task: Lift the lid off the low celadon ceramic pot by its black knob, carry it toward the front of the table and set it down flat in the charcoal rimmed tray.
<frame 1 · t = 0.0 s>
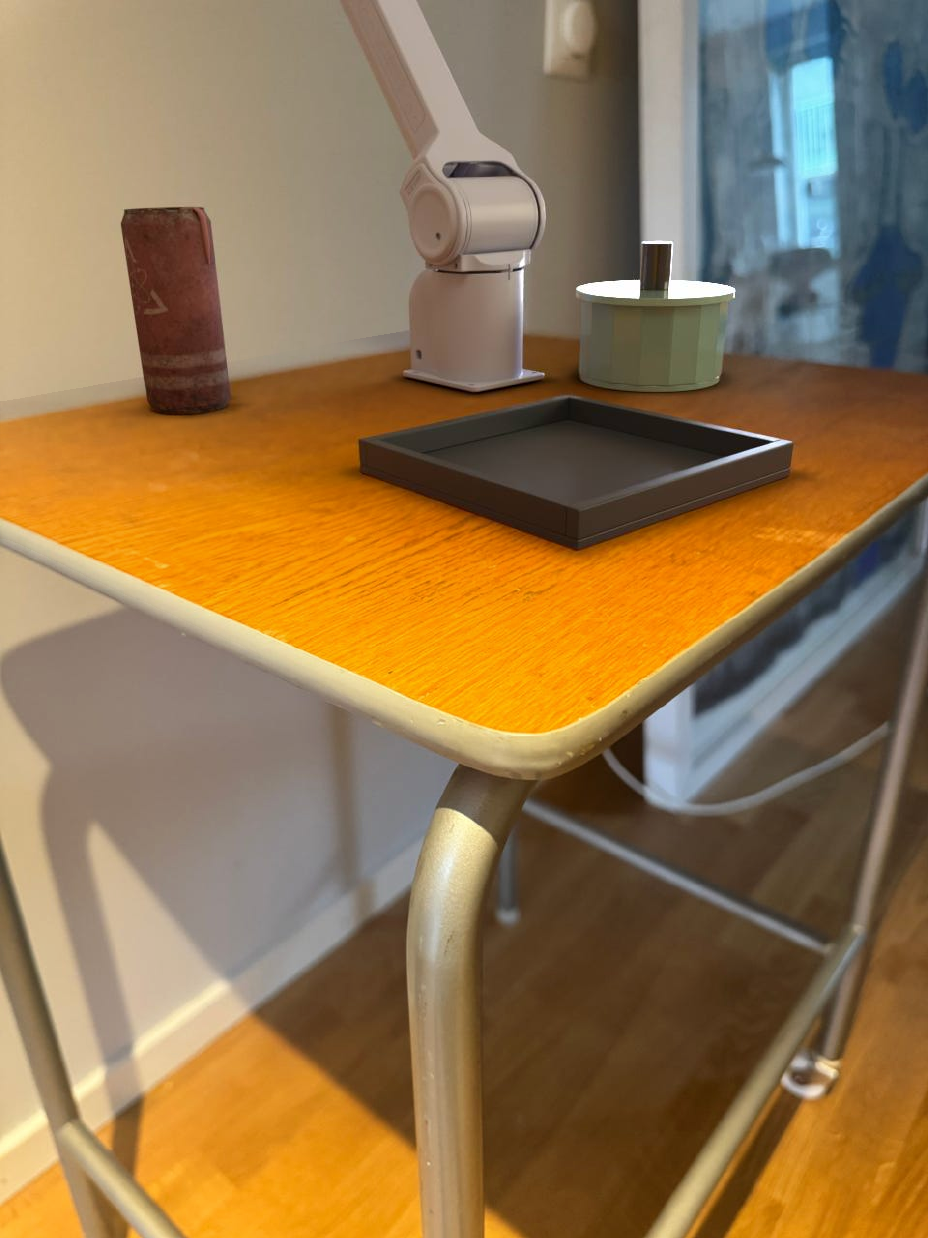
tray: (571, 474, 57), on the table
can: (192, 408, 74), on the table
pot: (648, 377, 82), on the table
lid: (653, 296, 79), point 6 cm above the table, touching pot
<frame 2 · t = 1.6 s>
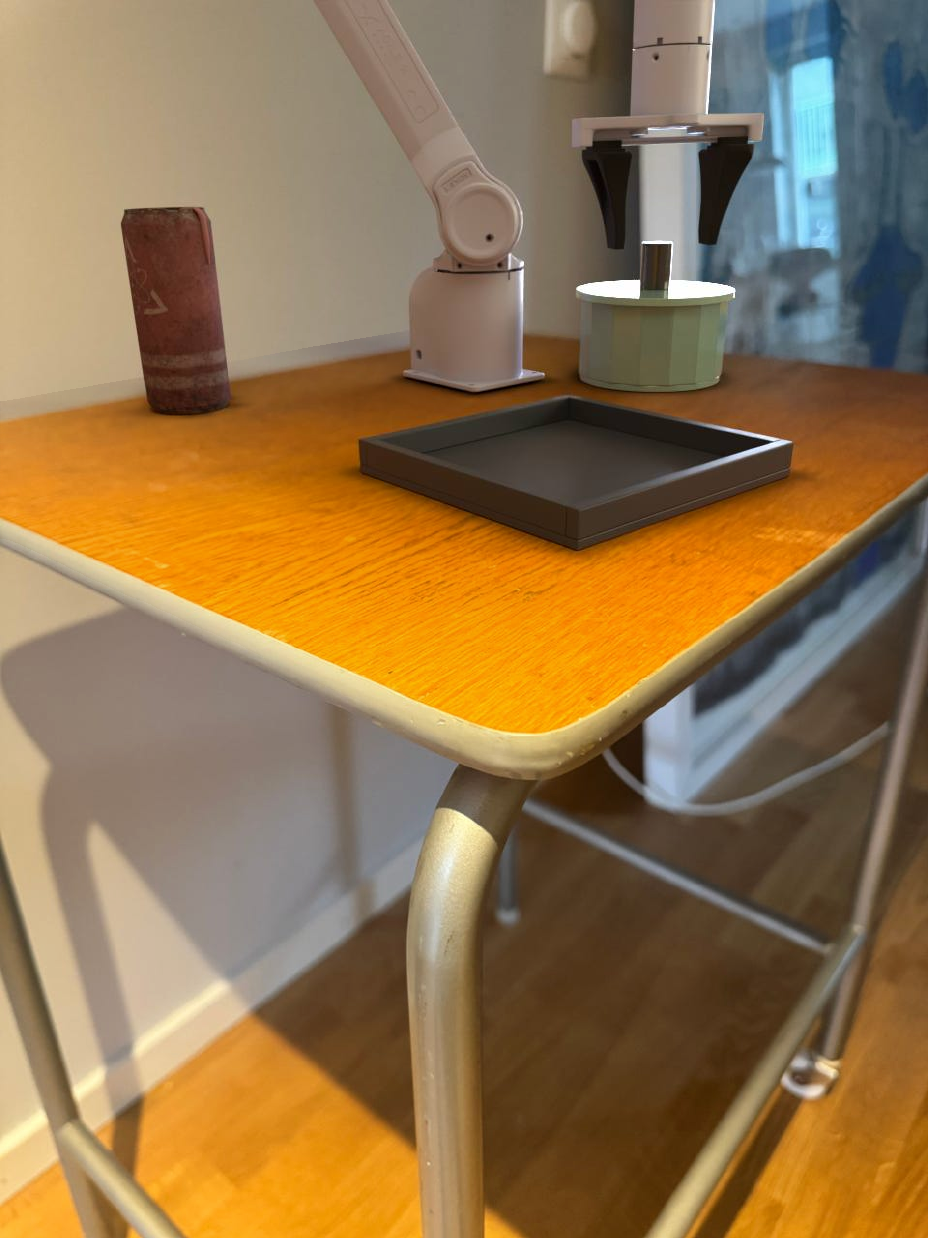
hand: (661, 246, 78), 10 cm above the table, tool pointing down, fingers open, 7 cm apart
nothing on the table moved.
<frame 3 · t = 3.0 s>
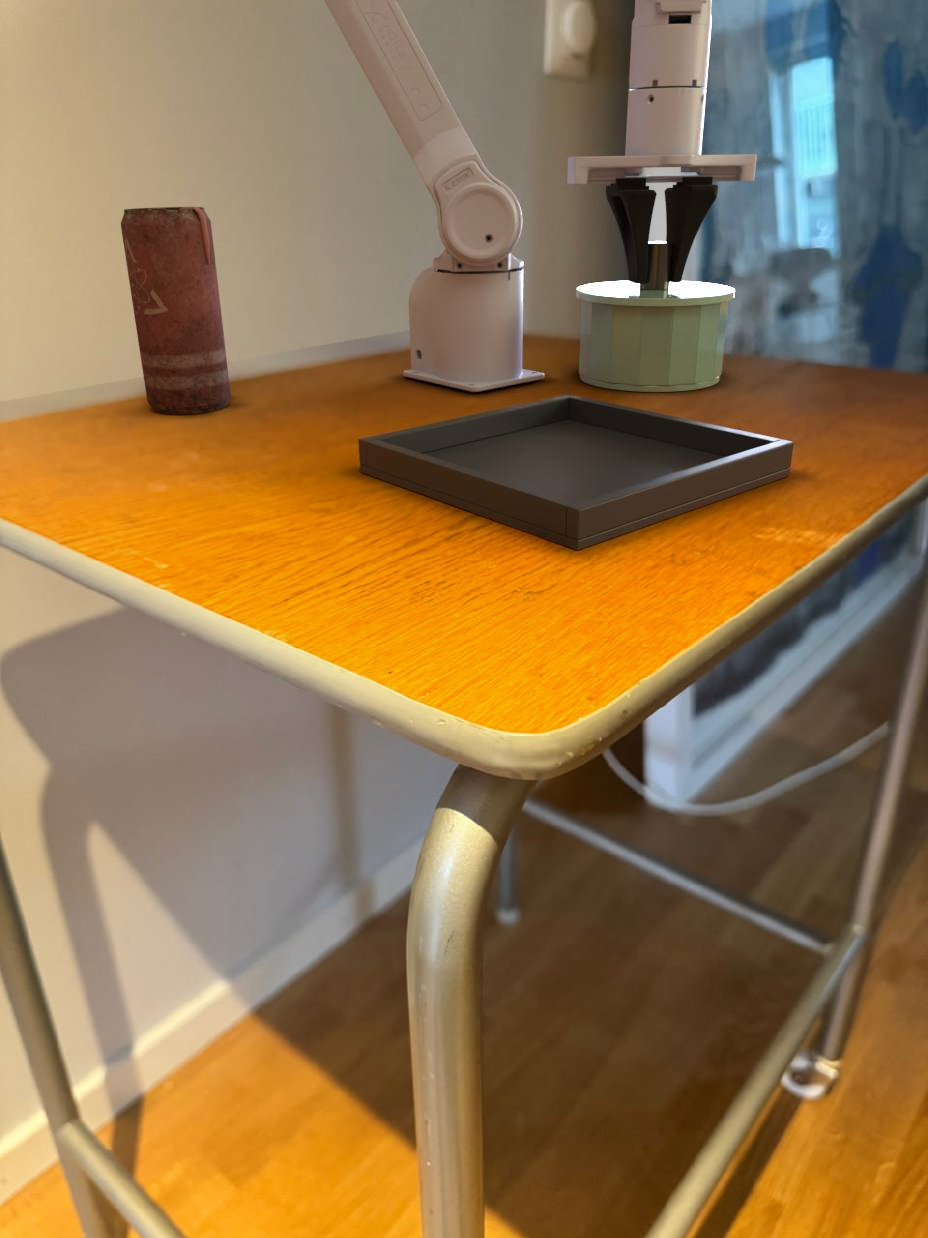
hand: (654, 281, 79), 8 cm above the table, tool pointing down, fingers closed on lid, 2 cm apart
lid: (653, 296, 79), point 6 cm above the table, touching gripper, pot
everything else where it was.
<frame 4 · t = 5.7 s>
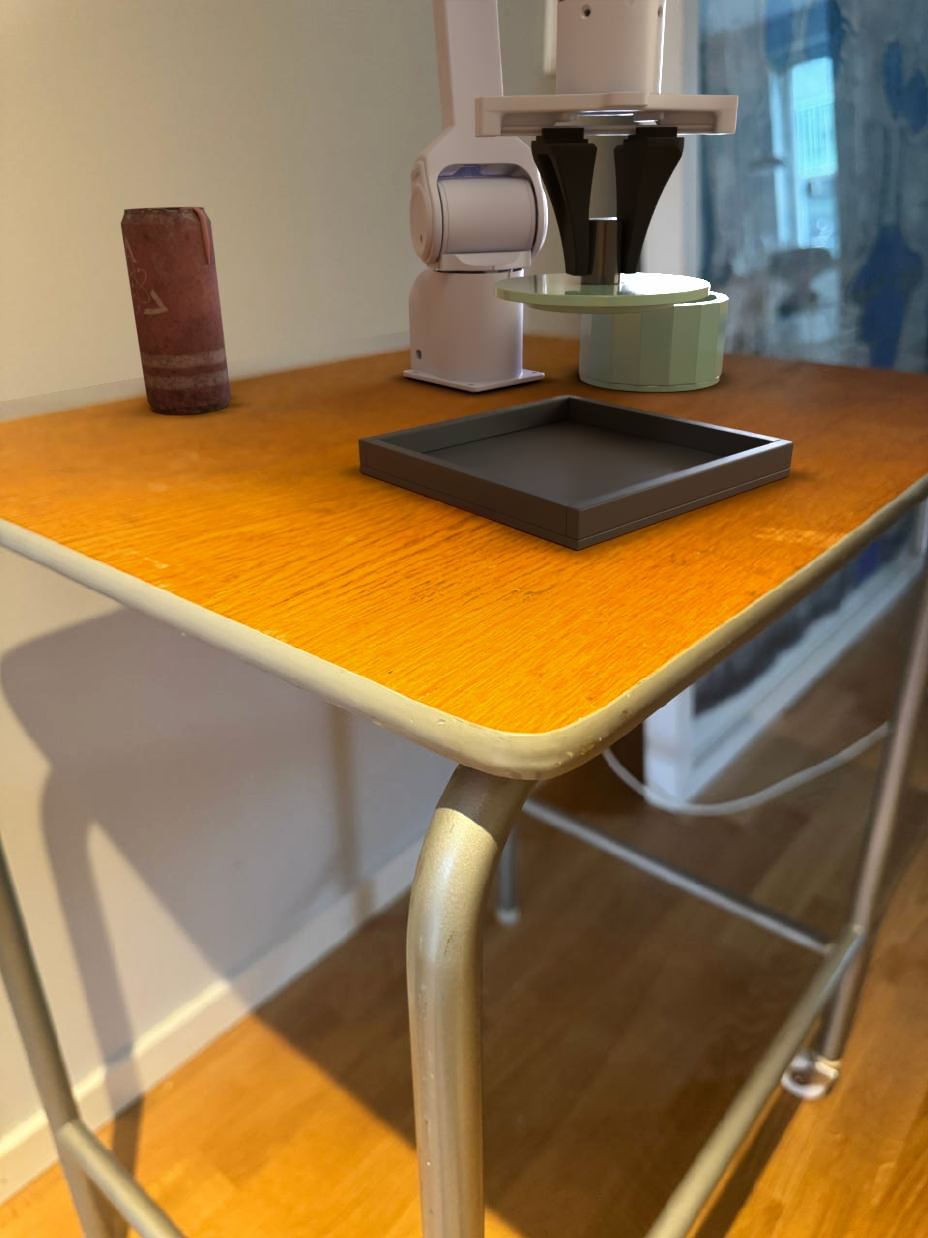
hand: (600, 273, 57), 10 cm above the table, tool pointing down, fingers closed on lid, 2 cm apart
lid: (600, 293, 58), point 9 cm above the table, touching gripper
everything else where it was.
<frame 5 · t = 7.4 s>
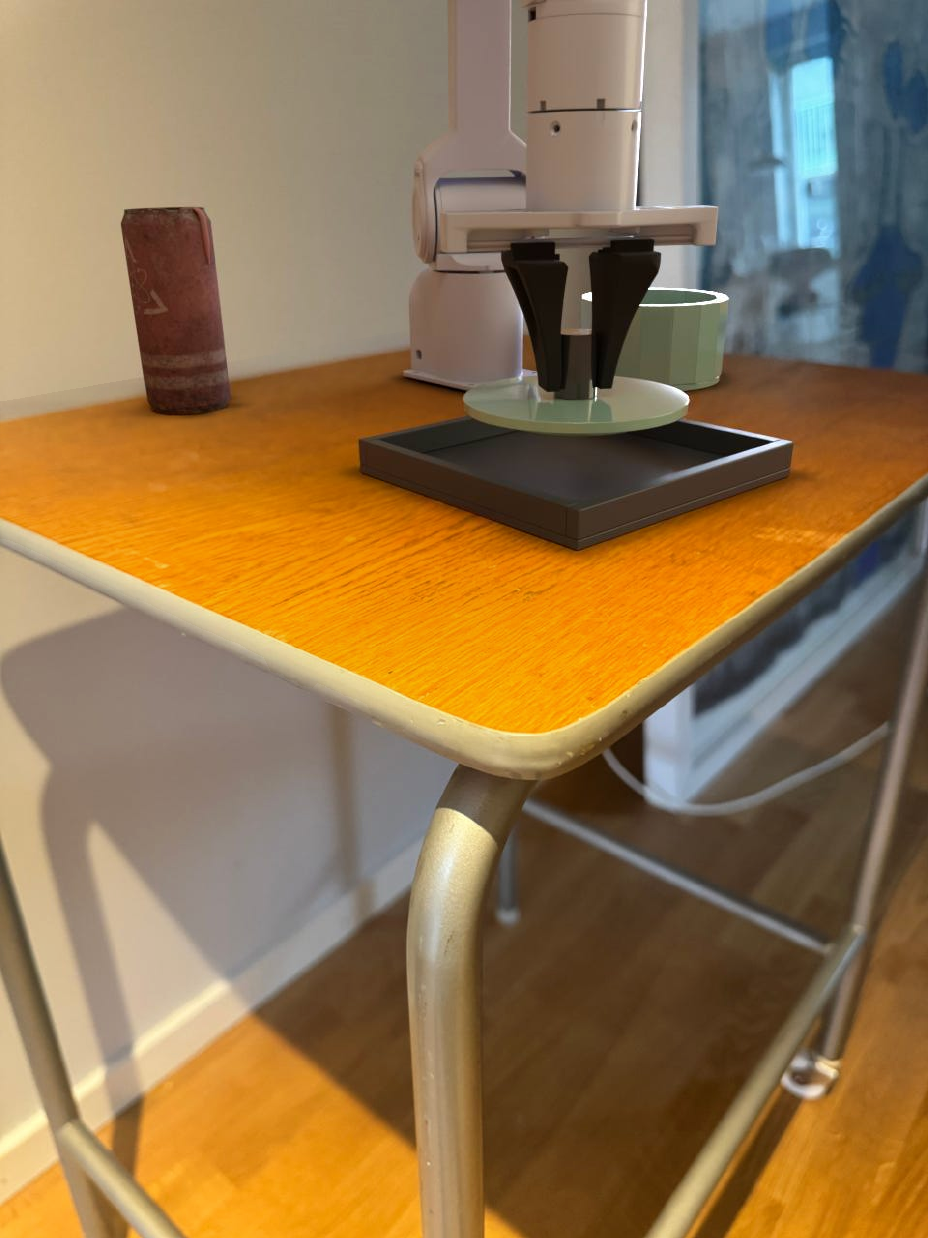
hand: (574, 387, 55), 5 cm above the table, tool pointing down, fingers closed on lid, 2 cm apart
lid: (574, 406, 55), point 4 cm above the table, touching gripper
everything else where it was.
when the fingers open (2 cm above the table, at t = 8.4 s): lid stays where it is, resting on tray.
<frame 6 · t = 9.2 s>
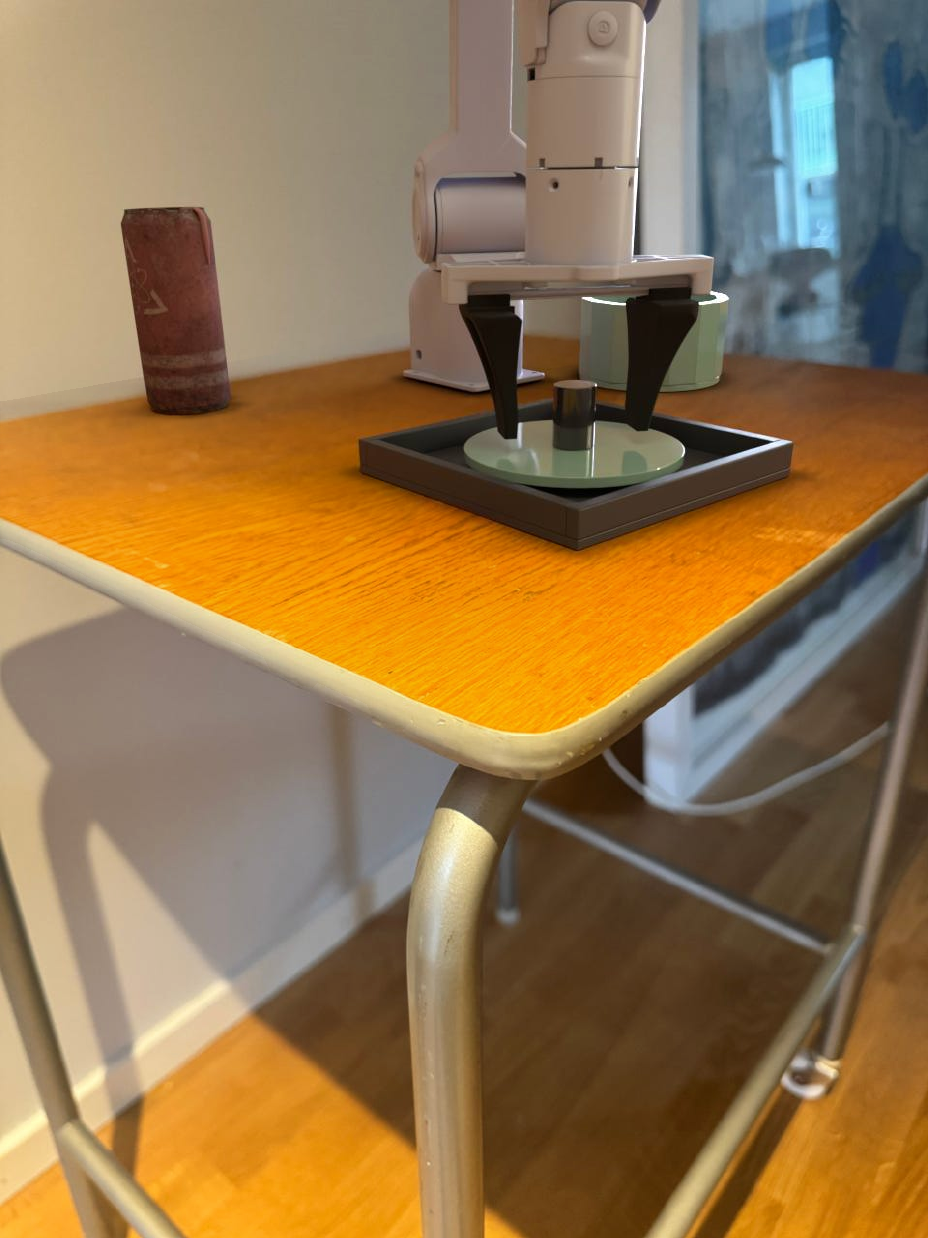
hand: (572, 431, 56), 3 cm above the table, tool pointing down, fingers open, 7 cm apart
lid: (572, 455, 56), point 1 cm above the table, touching tray
everything else where it was.
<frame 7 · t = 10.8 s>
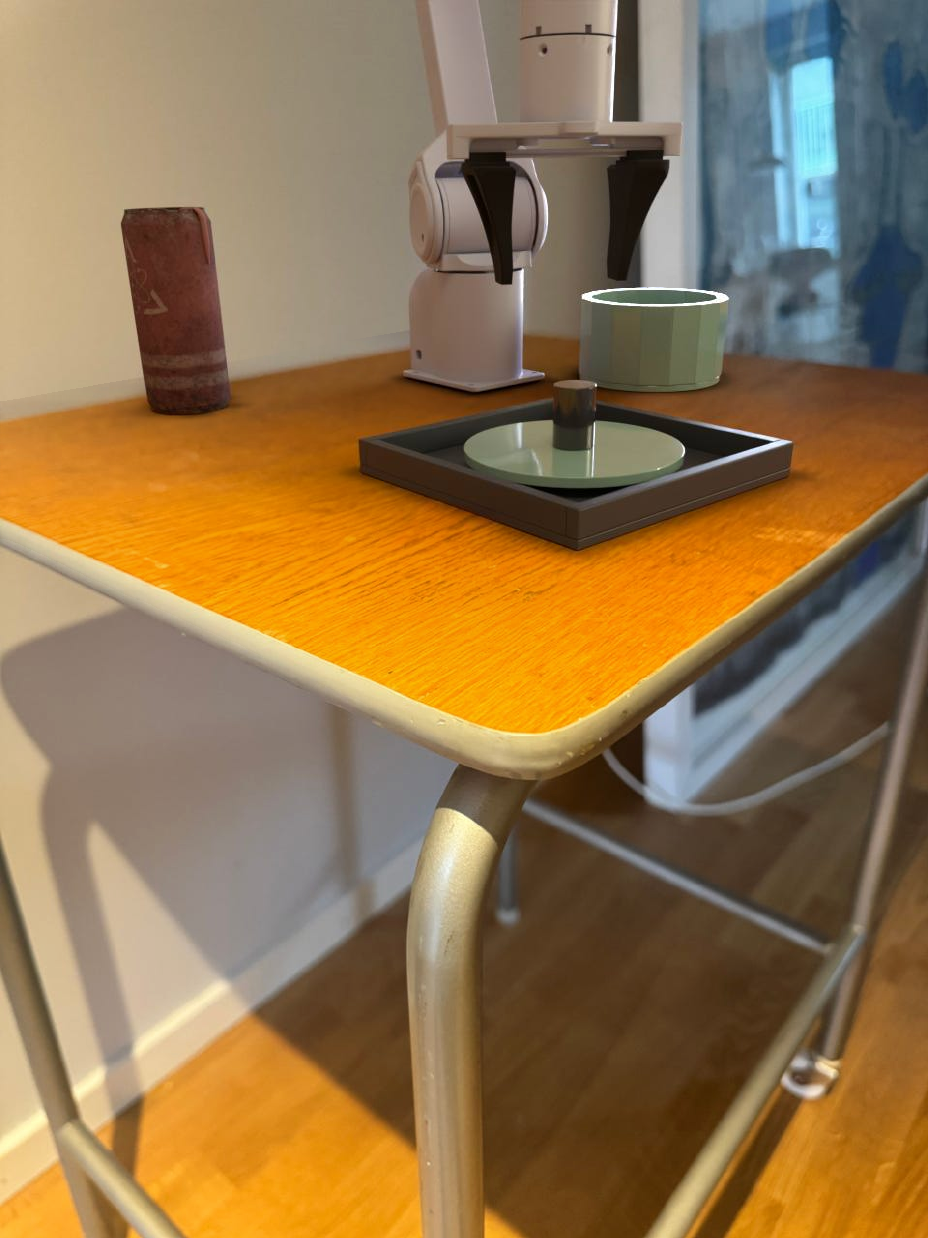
hand: (560, 281, 64), 9 cm above the table, tool pointing down, fingers open, 7 cm apart
nothing on the table moved.
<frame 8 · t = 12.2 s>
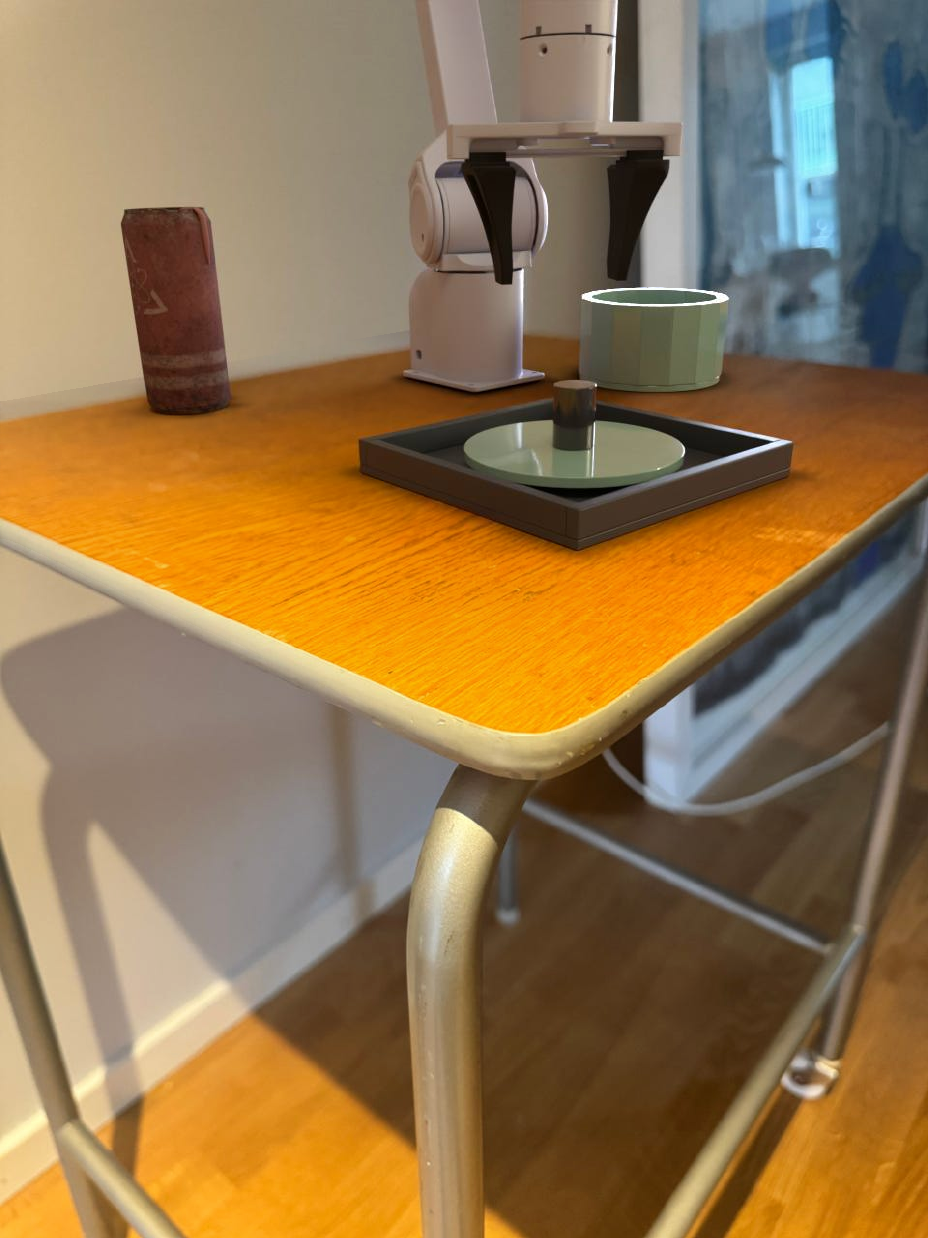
hand: (560, 281, 64), 9 cm above the table, tool pointing down, fingers open, 7 cm apart
nothing on the table moved.
at the end: lid inside the target area in the tray (0.1 cm from its centre), point 1.1 cm above the tray's base; lid point 1.1 cm above the table; lid tilted 0° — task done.
